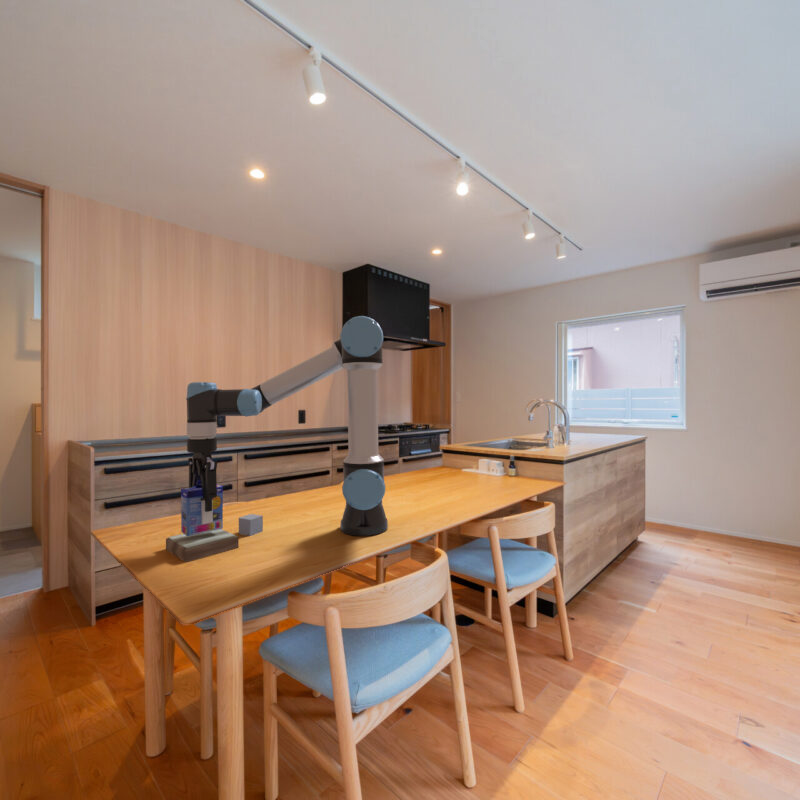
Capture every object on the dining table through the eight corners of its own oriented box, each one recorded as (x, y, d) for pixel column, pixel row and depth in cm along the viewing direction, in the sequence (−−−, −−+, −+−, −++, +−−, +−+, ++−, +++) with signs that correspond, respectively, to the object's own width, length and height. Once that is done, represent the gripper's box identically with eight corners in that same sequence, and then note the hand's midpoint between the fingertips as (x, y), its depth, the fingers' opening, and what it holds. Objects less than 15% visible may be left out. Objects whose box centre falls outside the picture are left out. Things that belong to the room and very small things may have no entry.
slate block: (262, 531, 129) (262, 515, 129) (250, 536, 125) (250, 519, 125) (251, 529, 131) (251, 513, 131) (238, 533, 127) (238, 517, 127)
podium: (238, 547, 115) (238, 535, 115) (185, 562, 104) (185, 549, 104) (216, 536, 124) (216, 525, 124) (165, 549, 113) (165, 537, 113)
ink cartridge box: (187, 537, 108) (186, 482, 109) (179, 533, 112) (179, 480, 113) (224, 528, 116) (223, 477, 116) (216, 525, 119) (215, 475, 120)
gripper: (230, 438, 111) (230, 524, 111) (202, 435, 123) (202, 512, 123) (202, 440, 105) (202, 530, 105) (175, 436, 117) (175, 517, 117)
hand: (202, 520), depth 114 cm, fingers closed on ink cartridge box, 5 cm apart
